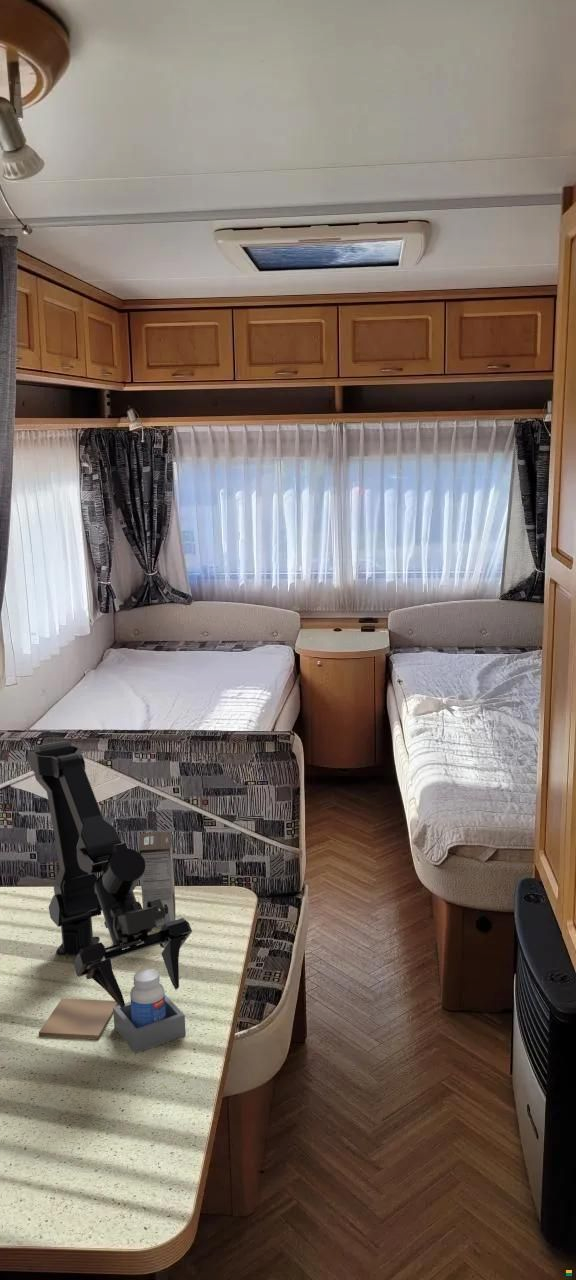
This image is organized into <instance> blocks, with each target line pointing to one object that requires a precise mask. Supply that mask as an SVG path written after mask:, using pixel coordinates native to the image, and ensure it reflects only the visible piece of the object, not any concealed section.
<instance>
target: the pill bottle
mask: <svg viewBox="0 0 576 1280" xmlns="http://www.w3.org/2000/svg"><path fill="white" fill-rule="evenodd" d="M164 988H165V987H164V986H163V985H162V983H161V982H160V973H159V971H158V970H156V969H152V968H145V969H141V970H138V971H136V973H134V975H133V987H132V988H131V989H130V1002H131V1015H132V1024H133V1025H134V1026H135V1027H136V1029H138V1028H140V1027H143V1026H146V1025H149V1024H152V1023H154V1022H157V1021H160V1020H163V1019H166V1012H165V995H166V993H165V989H164Z"/></svg>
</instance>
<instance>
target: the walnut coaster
mask: <svg viewBox="0 0 576 1280" xmlns="http://www.w3.org/2000/svg"><path fill="white" fill-rule="evenodd" d="M116 1006H119V1005H118V1003H117V1002H116V1001H115V1000H103V999H83V998H82V999H81V998H62V997H61V998H60V1001H59V1002H58V1003H57V1005H56V1006H55V1008H54V1010H52V1013H51V1014H50V1015H49V1016H48V1018H47V1020H46V1021H45V1022H44V1024H43V1025H42V1027H41V1028H40V1029H39V1031H38V1036H39V1037H40V1036H41V1037H53V1038H54V1037H57V1038H74V1039H75V1038H77V1039H89V1040H90V1039H91V1040H92V1039H95V1040H99V1039H100V1038H101V1037H102V1035H103V1033H104V1032H105V1030H106V1027H108V1024H109V1022H110V1020H111V1019H112V1017H113V1016H114V1015H113V1007H116Z"/></svg>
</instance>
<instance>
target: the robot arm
mask: <svg viewBox="0 0 576 1280" xmlns="http://www.w3.org/2000/svg"><path fill="white" fill-rule="evenodd" d="M28 758H29V759H28V761H29V765H30V769H31V770H32V772H33V773H34V778H35V780H36V781H37V783H39V785H40V786H41V787H42V788H43V790H44V791H46V795H47V802H48V806H49V813H50V819H51V820H50V821H51V825H52V829H53V830H52V831H53V835H54V836H53V837H54V843H55V849H56V855H57V860H58V861H57V862H58V867H59V870H58V872H57V874H56V875H57V876H55V880H54V883H53V893H54V895H53V896H52V898H51V901H50V902H49V905H48V910H49V911H48V912H49V917H50V919H51V920H52V922H53V923H54V924H55V925H56V926H57V927H58V928H60V930H61V931H60V932H61V944H60V945H59V947H58V948H57V949H56V951H55V953H56V954H55V955H63V954H64V955H65V954H67V956H75V959H74V961H73V967H74V971H75V974H76V977H79V978H80V977H82V976H85V978H86V980H93V981H95V982H96V983H97V984H98V985H99V986H100V987H101V988H103V989H104V990H105V991H106V992H107V993H108V995H109V996H110V998H112V999H113V1001H116V1002H117V1003H118V1006H120V1007H121V1008H123V1007H124V1006H125V999H124V996H123V995H124V994H123V993H122V991H121V987H120V986H119V983H118V981H117V979H116V975H115V974H114V972H113V971H114V970H113V965H112V961H111V960H113V959H116V958H119V957H122V956H125V955H129V954H133V953H135V952H138V951H142V950H145V949H148V948H153V947H155V946H157V945H159V946H160V947H161V948H162V949H163V950H162V952H161V953H160V955H161V956H162V959H163V963H164V966H165V969H166V970H167V974H168V976H169V980H170V982H171V985H172V987H173V988H174V990H178V989H179V987H180V974H179V973H180V971H179V970H180V969H179V966H180V965H179V964H180V963H179V961H180V960H179V958H180V949H181V948H182V946H183V945H184V944H185V942H186V941H187V939H188V938H189V936H191V934H192V932H193V931H192V928H191V927H192V926H191V925H190V922H189V921H188V920H187V919H185V918H183V917H182V918H178V919H175V920H174V921H171V922H167V923H164V925H161V926H162V927H161V928H160V929H159V931H157V932H154V933H151V934H150V932H152V930H153V929H154V928H157V927H158V925H157V923H156V920H159V919H162V918H165V911H164V907H163V904H162V902H161V900H160V899H155V900H152V901H148V902H147V908H144V909H143V905H142V904H141V903H140V901H137V899H136V895H135V893H134V890H135V888H136V887H137V885H138V884H139V881H141V876H142V875H143V873H144V870H145V860H144V858H143V857H142V856H141V855H140V854H139V851H137V850H135V849H132V848H131V847H129V846H128V844H127V843H126V841H124V840H123V839H122V838H121V837H120V835H119V833H118V831H117V829H116V827H115V826H114V825H112V824H111V823H109V822H108V821H106V820H105V818H104V816H103V814H102V812H101V811H102V810H101V809H100V806H99V804H98V802H97V801H98V800H97V798H96V796H95V793H94V791H93V788H92V786H91V785H92V784H91V783H90V780H89V778H88V775H87V773H86V764H85V759H84V756H83V755H82V747H79V746H78V745H76V744H71V743H70V741H69V740H68V739H67V740H61V741H56V742H51V743H49V742H48V743H44V744H38V745H35V746H34V748H33V752H30V753H29V757H28ZM98 873H102V874H101V875H100V876H97V875H96V874H98ZM102 914H103V917H104V920H105V921H104V922H103V924H104V927H105V929H108V933H109V935H110V939H111V942H112V944H111V945H110V946H107V947H105V945H104V944H103V942H99V941H100V939H101V938H100V936H94V932H93V921H92V918H94V917H97V916H101V915H102Z"/></svg>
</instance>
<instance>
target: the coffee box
mask: <svg viewBox="0 0 576 1280" xmlns="http://www.w3.org/2000/svg"><path fill="white" fill-rule="evenodd" d="M138 843H139V844H138V846H139V847H138V853H139V854H140V855H141V856H142V857H143V858H144V860H145V870H144V873H143V875H142V876H141V878H140V884H141V899H142V908H143V909H144V908H147V902H148V901H152V900H155V899H160V900H161V902H162V904H163V907H164V911H165V918H162V919H159V920H156V923H157V926H163V925H164V923H167V922H171V921H174V920H176V894H175V893H176V891H175V875H174V874H175V873H174V858H173V844H172V831H163V832H161V831H151V832H142V833H139V841H138Z"/></svg>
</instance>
